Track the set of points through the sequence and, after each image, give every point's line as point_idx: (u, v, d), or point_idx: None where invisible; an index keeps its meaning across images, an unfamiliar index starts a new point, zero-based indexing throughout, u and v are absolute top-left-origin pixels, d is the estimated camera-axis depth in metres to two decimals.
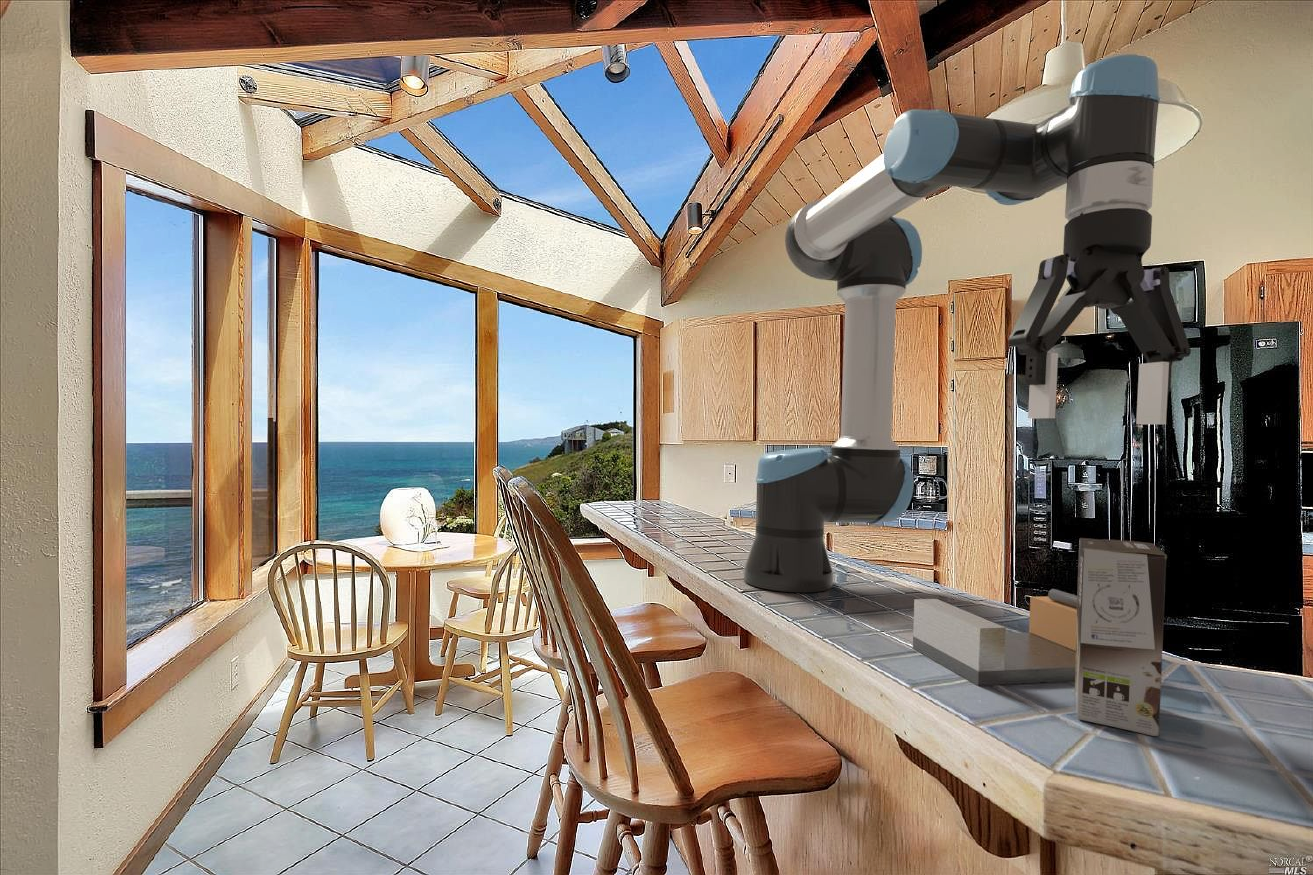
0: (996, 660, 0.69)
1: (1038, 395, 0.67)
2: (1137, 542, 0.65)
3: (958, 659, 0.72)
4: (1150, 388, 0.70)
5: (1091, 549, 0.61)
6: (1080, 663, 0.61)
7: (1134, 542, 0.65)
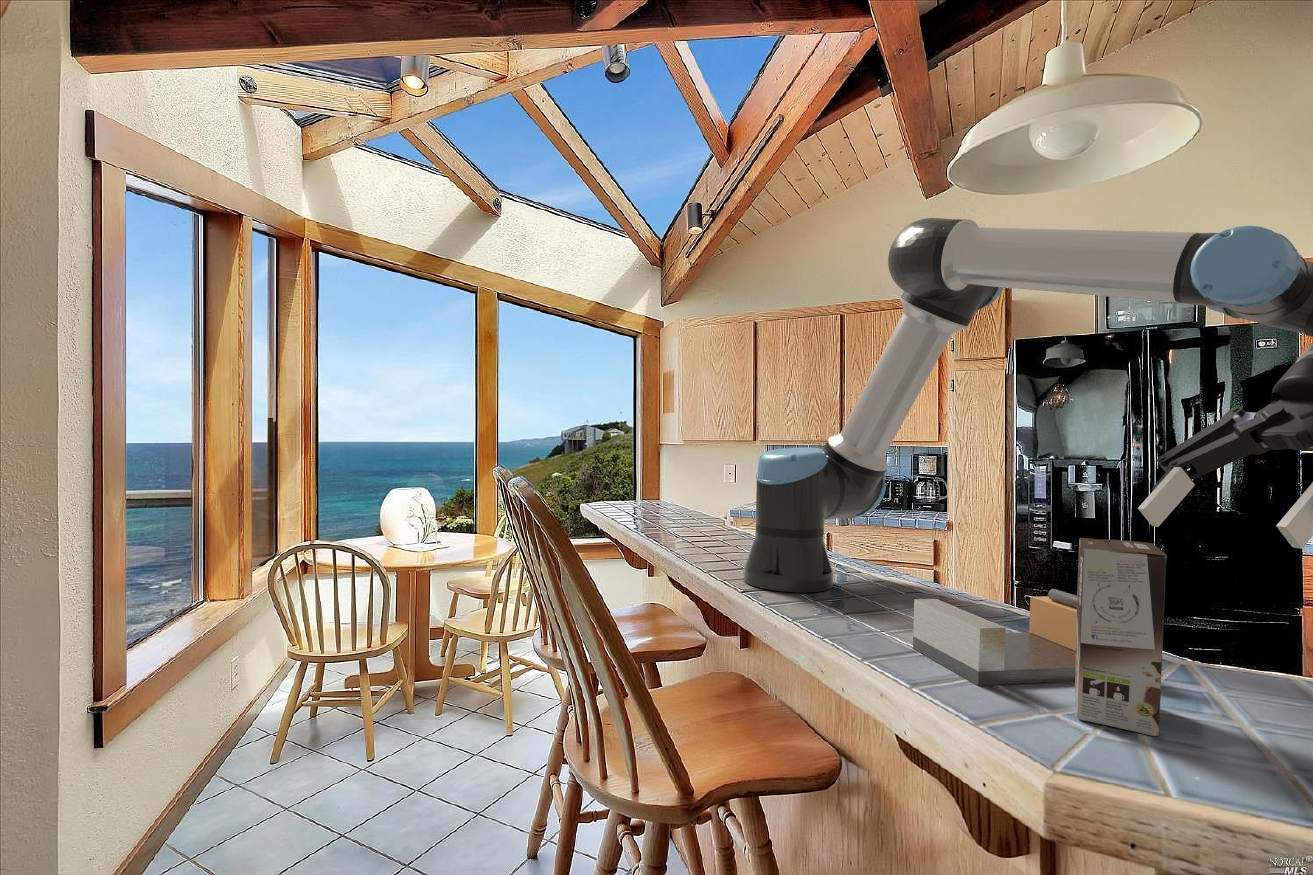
0: (996, 660, 0.69)
1: (1308, 518, 0.58)
2: (1137, 542, 0.65)
3: (958, 659, 0.72)
4: (1173, 494, 0.72)
5: (1091, 549, 0.61)
6: (1080, 663, 0.61)
7: (1134, 542, 0.65)
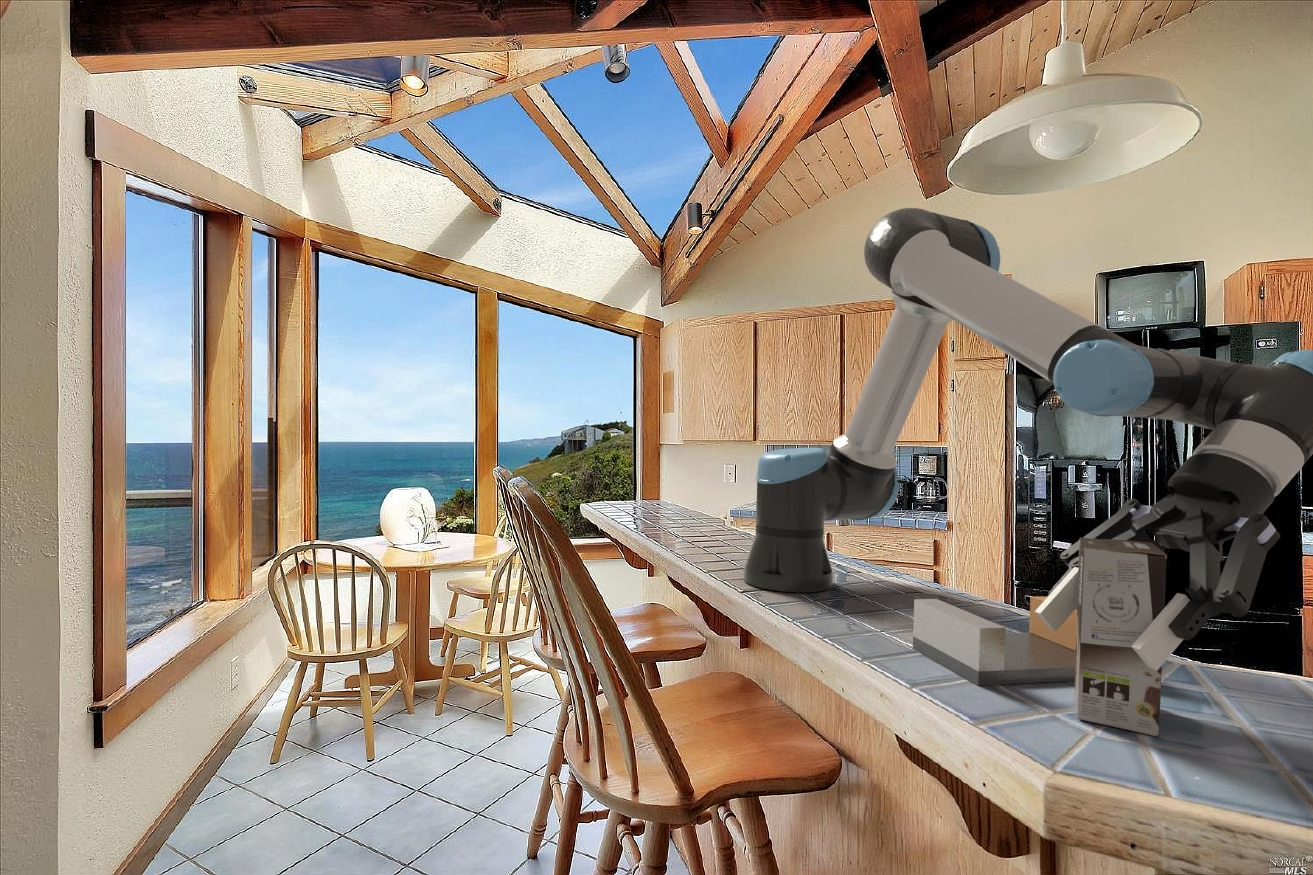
0: (996, 660, 0.69)
1: (1164, 639, 0.57)
2: (1137, 542, 0.65)
3: (958, 659, 0.72)
4: (1071, 596, 0.68)
5: (1091, 549, 0.61)
6: (1080, 663, 0.61)
7: (1134, 542, 0.65)
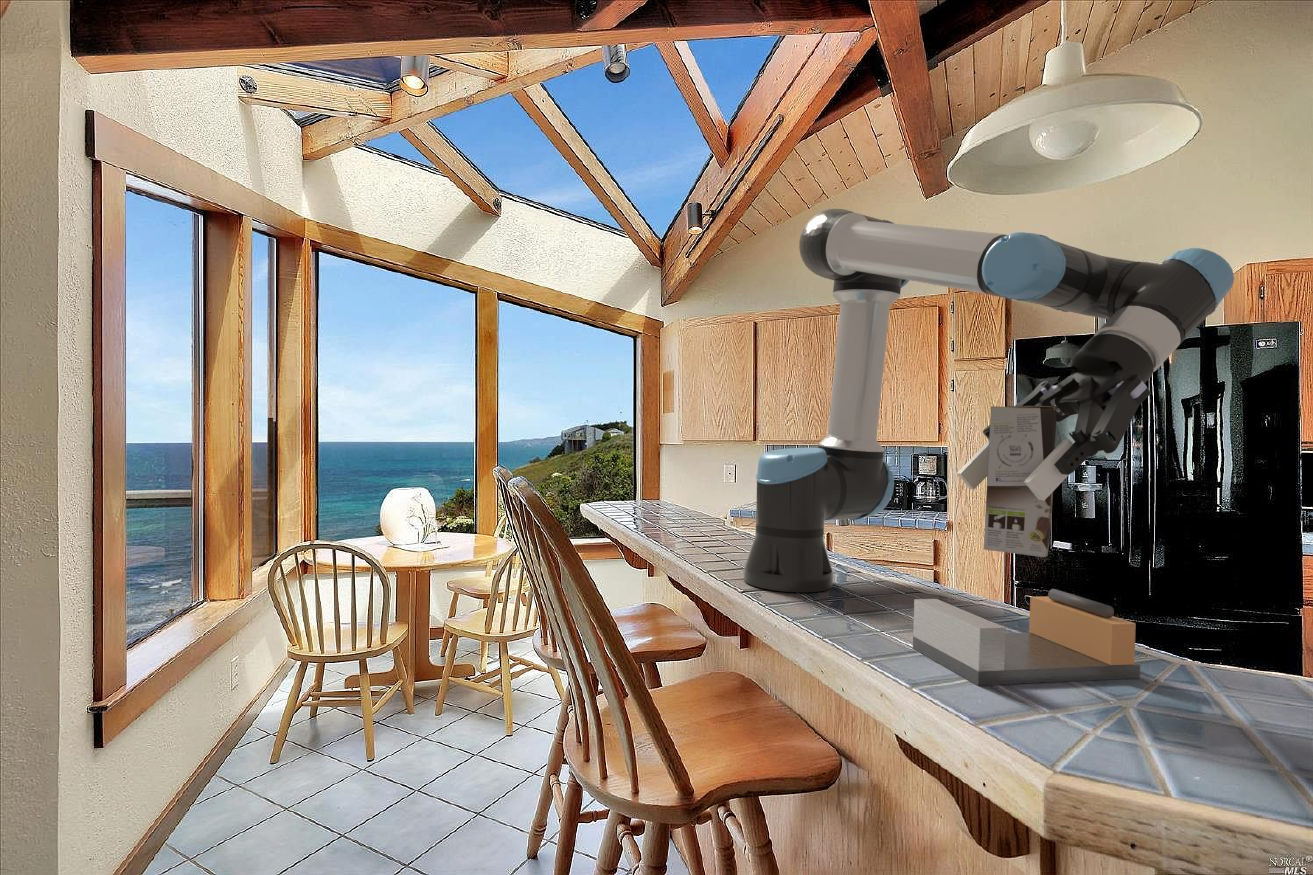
0: (996, 660, 0.69)
1: (1050, 475, 0.69)
2: None
3: (958, 659, 0.72)
4: None
5: (996, 407, 0.73)
6: (986, 503, 0.73)
7: None
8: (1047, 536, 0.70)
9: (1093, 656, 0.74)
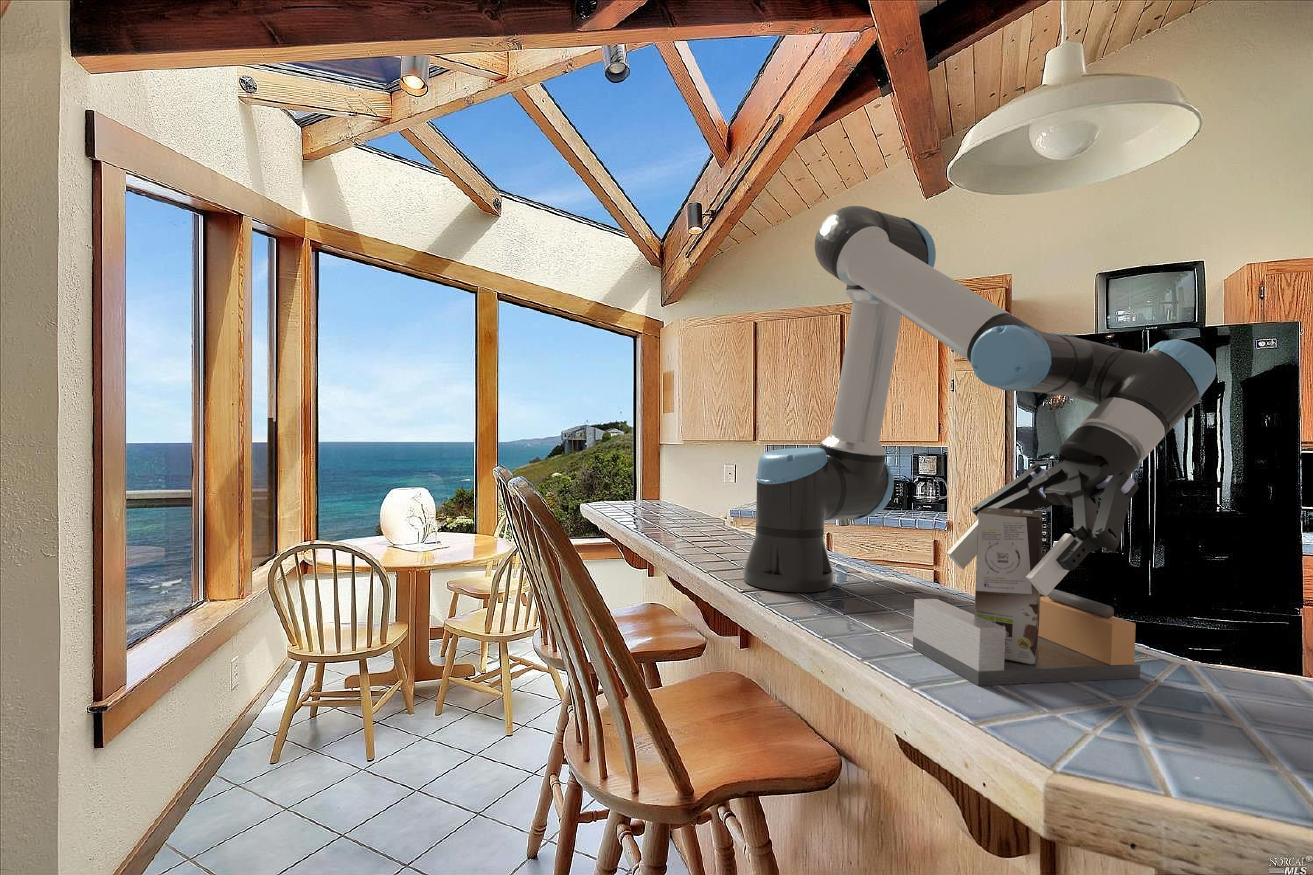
0: (996, 660, 0.69)
1: (1052, 570, 0.69)
2: (1029, 510, 0.79)
3: (958, 659, 0.72)
4: None
5: (984, 513, 0.74)
6: (975, 607, 0.74)
7: (1026, 510, 0.78)
8: (1035, 644, 0.71)
9: (1093, 656, 0.74)
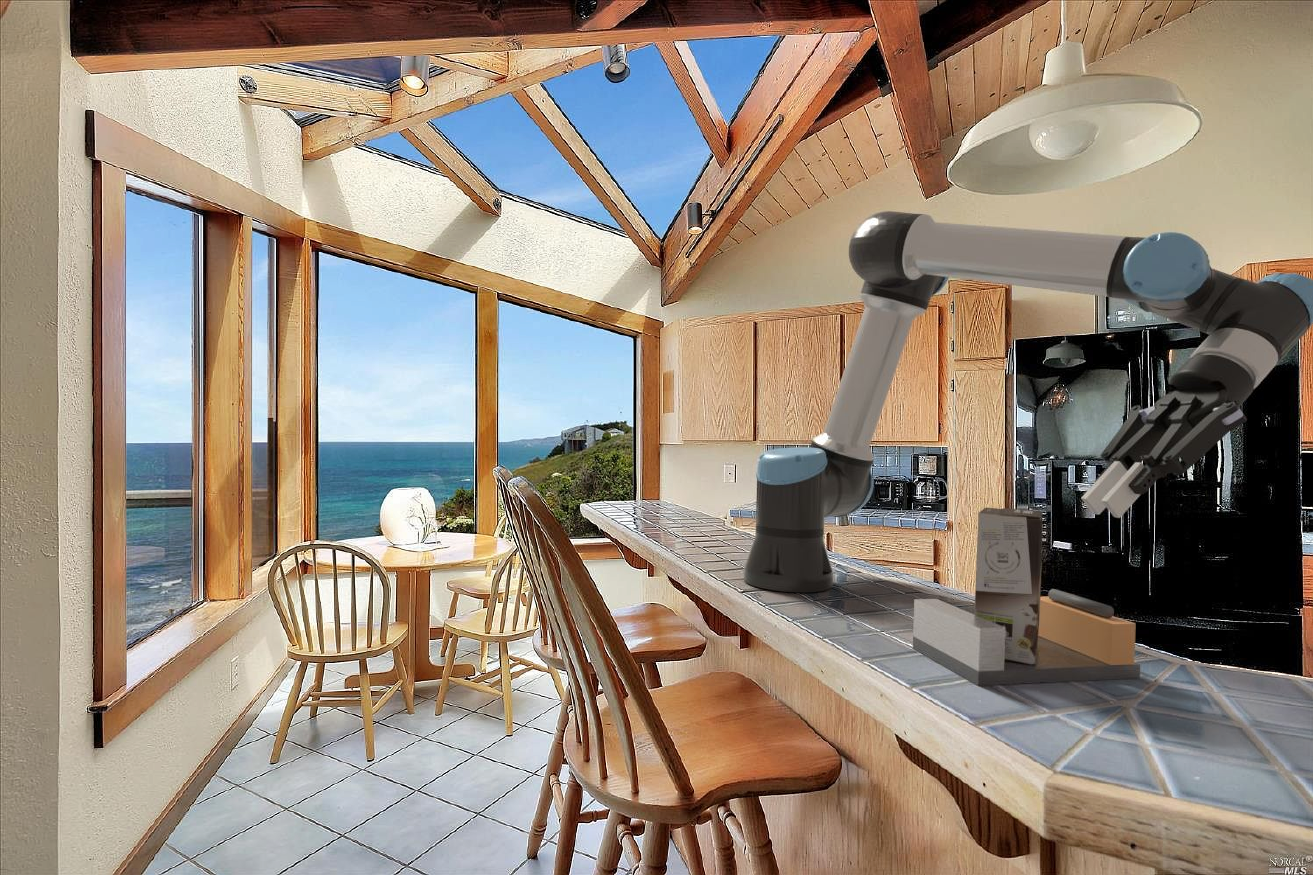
0: (996, 660, 0.69)
1: (1125, 495, 0.77)
2: (1029, 510, 0.79)
3: (958, 659, 0.72)
4: (1112, 485, 0.80)
5: (984, 513, 0.74)
6: (975, 607, 0.74)
7: (1026, 510, 0.78)
8: (1035, 644, 0.71)
9: (1093, 656, 0.74)
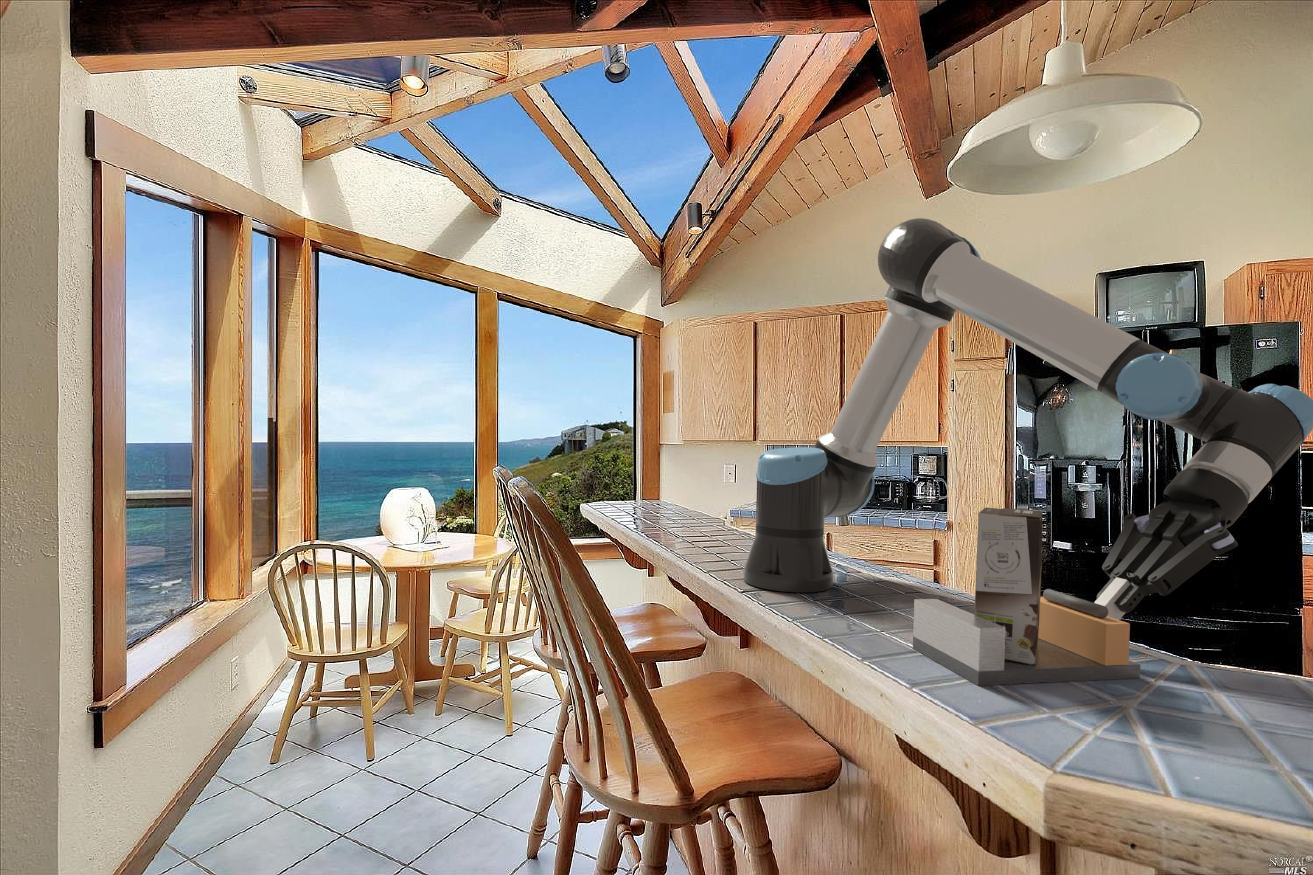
0: (996, 660, 0.69)
1: (1111, 612, 0.78)
2: (1029, 510, 0.79)
3: (958, 659, 0.72)
4: None
5: (984, 513, 0.74)
6: (975, 607, 0.74)
7: (1026, 510, 0.78)
8: (1035, 644, 0.71)
9: (1087, 656, 0.74)
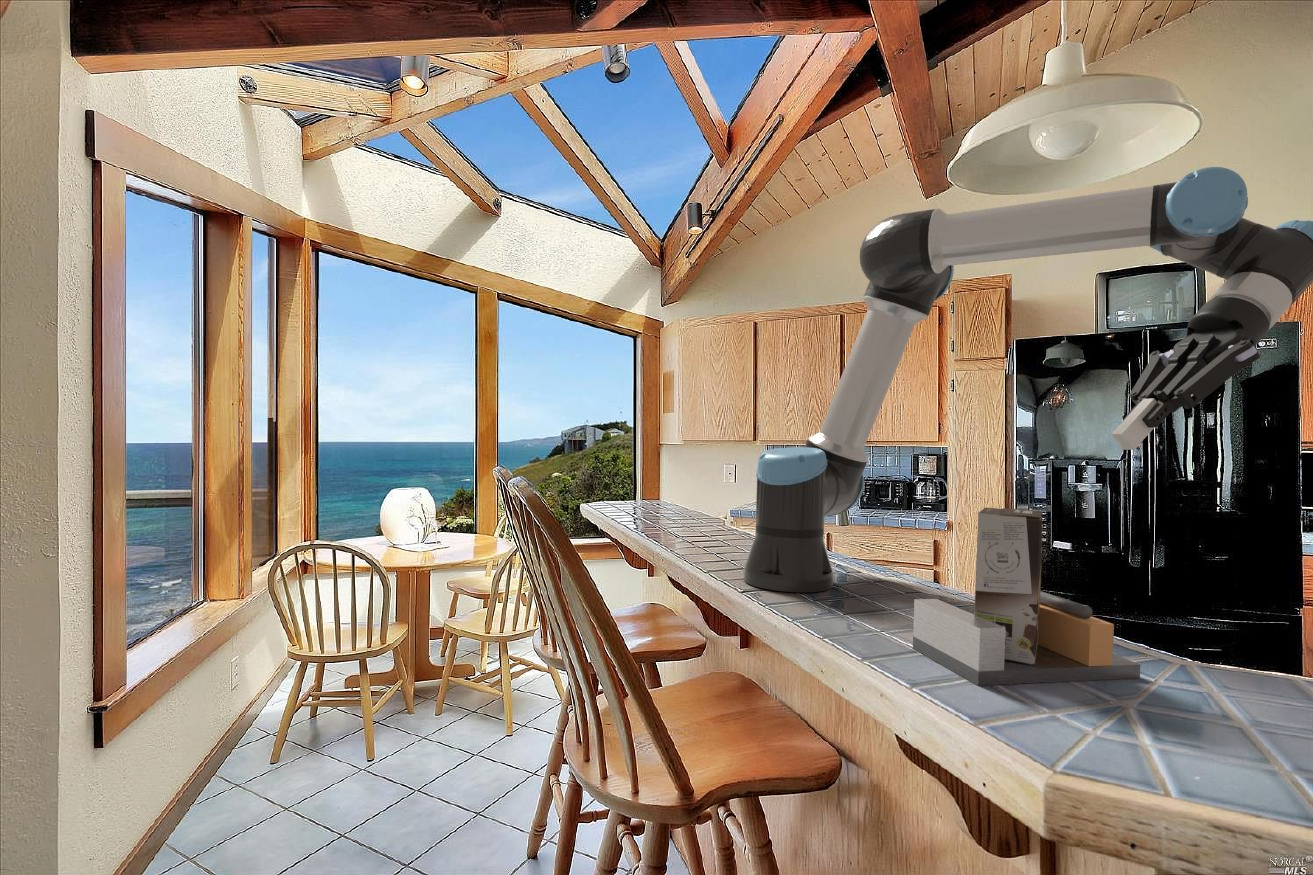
0: (996, 660, 0.69)
1: (1139, 428, 0.82)
2: (1028, 510, 0.79)
3: (958, 659, 0.72)
4: None
5: (984, 513, 0.74)
6: (975, 607, 0.74)
7: (1026, 510, 0.78)
8: (1034, 644, 0.71)
9: (1071, 657, 0.74)
